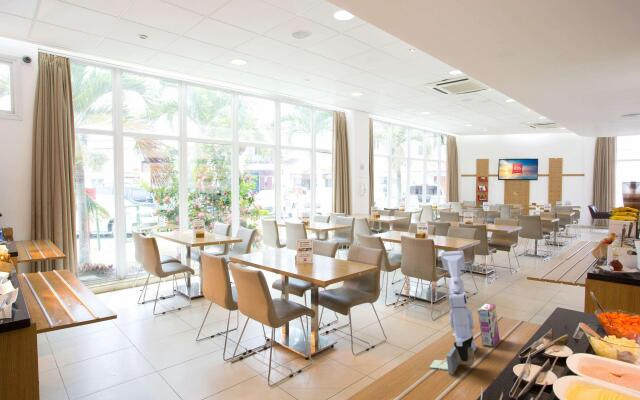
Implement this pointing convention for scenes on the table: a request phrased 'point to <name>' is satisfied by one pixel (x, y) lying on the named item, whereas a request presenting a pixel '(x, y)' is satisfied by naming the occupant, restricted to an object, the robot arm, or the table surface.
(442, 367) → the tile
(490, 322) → the candy bar box
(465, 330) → the robot arm
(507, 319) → the table surface
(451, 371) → the slate screen
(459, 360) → the walnut letter cube
